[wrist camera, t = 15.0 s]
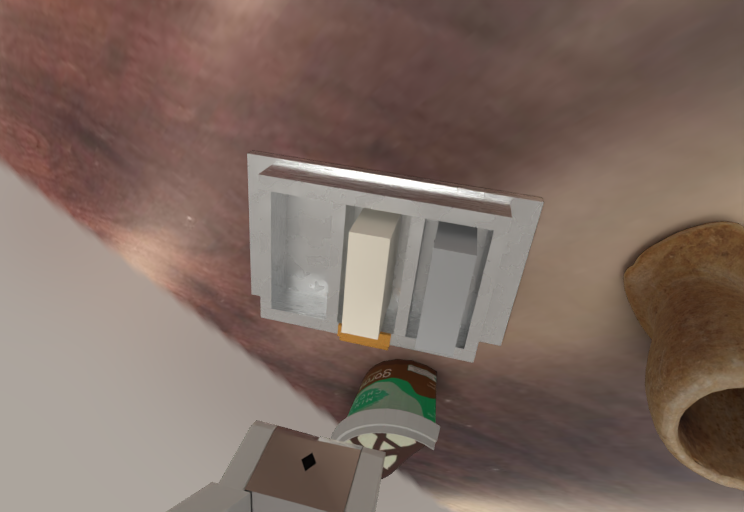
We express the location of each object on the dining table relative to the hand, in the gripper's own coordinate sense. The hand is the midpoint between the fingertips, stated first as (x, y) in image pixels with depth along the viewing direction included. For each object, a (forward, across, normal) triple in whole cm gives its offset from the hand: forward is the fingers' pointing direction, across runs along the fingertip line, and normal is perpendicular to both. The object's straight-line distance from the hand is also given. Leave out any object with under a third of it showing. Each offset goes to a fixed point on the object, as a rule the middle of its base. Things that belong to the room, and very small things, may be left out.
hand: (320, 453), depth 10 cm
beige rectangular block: (+28, +3, +10) cm, 30 cm away
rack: (+29, +3, +10) cm, 31 cm away
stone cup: (+29, -23, +10) cm, 39 cm away
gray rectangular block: (+28, -3, +10) cm, 30 cm away
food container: (+29, +1, +25) cm, 39 cm away
